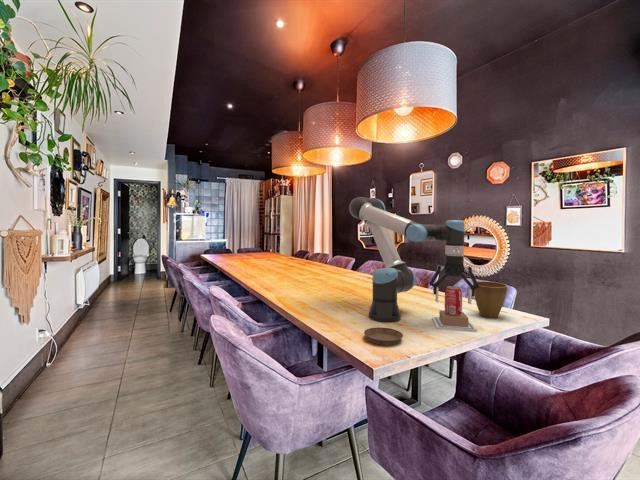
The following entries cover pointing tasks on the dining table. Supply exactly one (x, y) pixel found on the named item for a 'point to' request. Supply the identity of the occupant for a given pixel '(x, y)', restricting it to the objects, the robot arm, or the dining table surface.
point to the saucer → (383, 335)
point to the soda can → (453, 300)
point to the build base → (453, 322)
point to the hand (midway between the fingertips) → (453, 302)
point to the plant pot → (490, 298)
